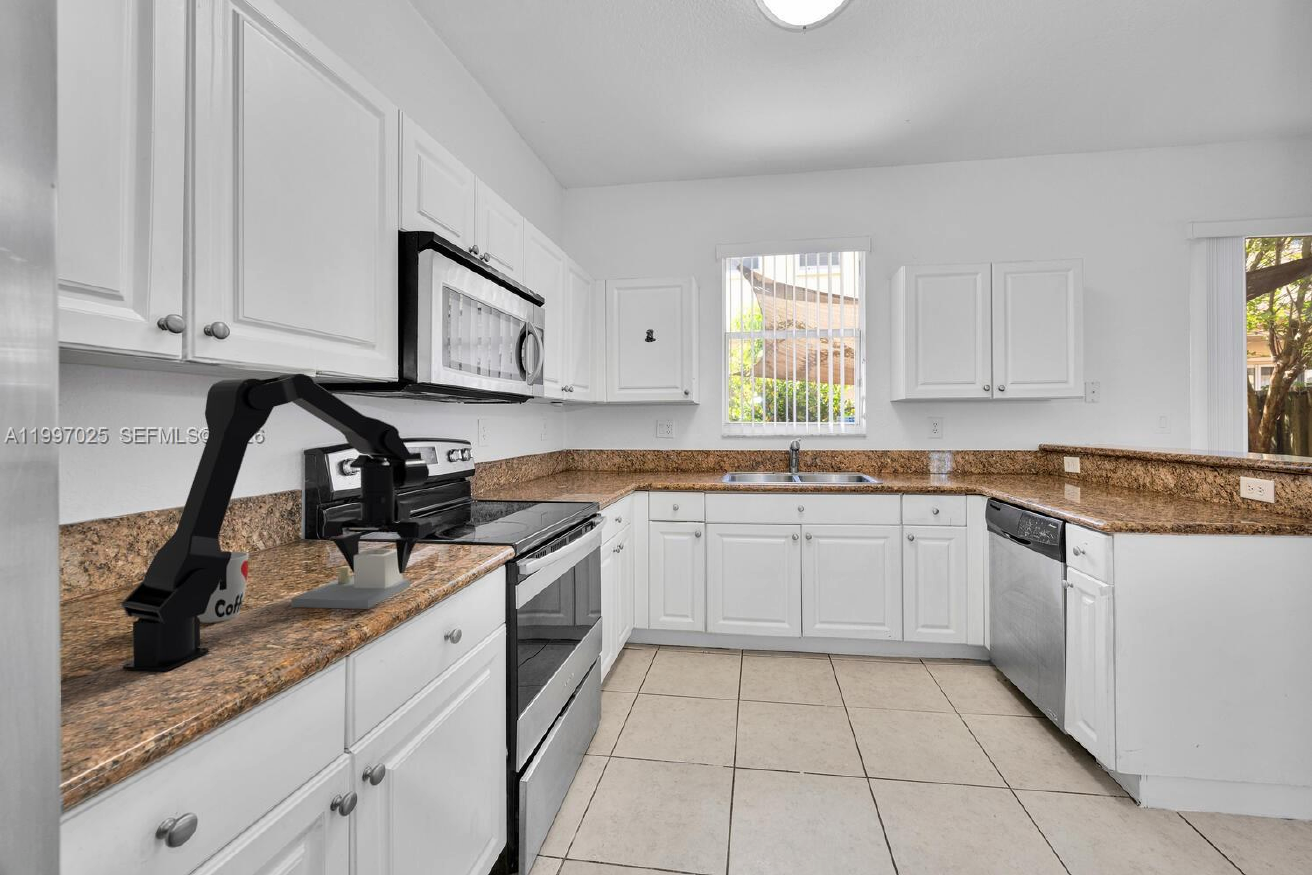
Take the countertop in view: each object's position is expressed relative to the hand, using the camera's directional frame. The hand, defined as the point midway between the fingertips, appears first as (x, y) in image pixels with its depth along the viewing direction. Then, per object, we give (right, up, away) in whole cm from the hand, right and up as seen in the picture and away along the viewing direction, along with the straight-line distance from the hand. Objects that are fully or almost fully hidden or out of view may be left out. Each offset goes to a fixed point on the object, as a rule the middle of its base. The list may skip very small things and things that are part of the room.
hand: (378, 572), depth 109 cm
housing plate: (-3, -4, -3) cm, 6 cm away
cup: (-19, -4, -14) cm, 24 cm away
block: (0, -2, 0) cm, 2 cm away
